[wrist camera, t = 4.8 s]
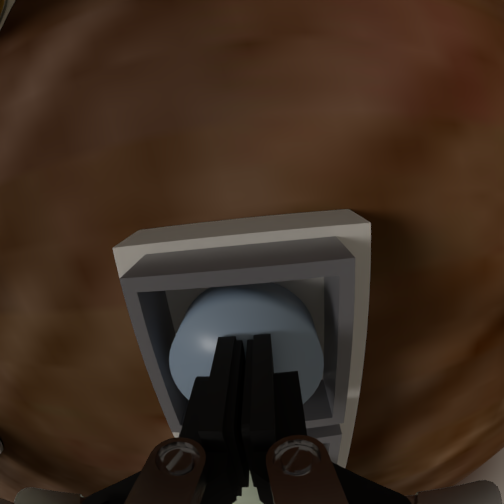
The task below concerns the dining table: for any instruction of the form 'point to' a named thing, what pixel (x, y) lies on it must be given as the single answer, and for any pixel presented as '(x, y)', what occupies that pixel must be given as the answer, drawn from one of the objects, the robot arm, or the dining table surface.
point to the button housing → (253, 272)
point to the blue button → (247, 333)
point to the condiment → (5, 10)
